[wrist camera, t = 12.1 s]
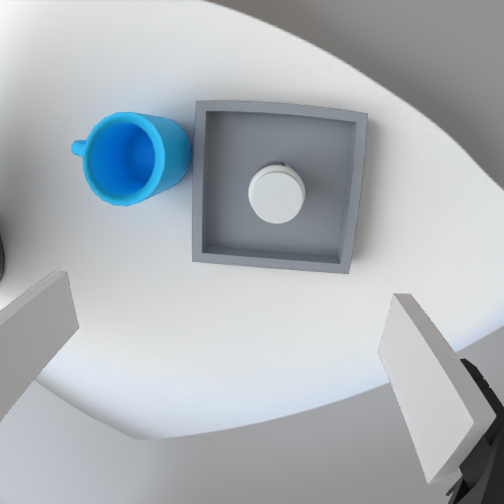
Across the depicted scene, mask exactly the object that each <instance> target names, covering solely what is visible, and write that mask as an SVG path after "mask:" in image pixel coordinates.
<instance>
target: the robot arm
mask: <svg viewBox="0 0 504 504" xmlns="http://www.w3.org/2000/svg"><path fill="white" fill-rule="evenodd" d="M3 268H4V256H3V248H2V243H1V239H0V279H1V277H2V274H3ZM78 329H79V325H78V321H77V316H76V312H75V308H74V303H73V299H72V294H71V289H70V284H69V279H68V274H67V272H60V271H53V272H52V273H50V274H49V275H48V276H46V277H45V278H43V279H42V280H41V281H39V282H38V283H37V284H35V285H34V286H32V287H31V288H30V289H28V290H27V291H26V292H24V293H23V294H22V295H20V296H19V297H18V298H16V299H15V300H14V301H12V302H11V303H10V304H9V305H7V306H6V307H5V308H3V309H2V310H1V311H0V422H1V420H2V419H3V418H4V416H5V415H6V414H7V413H8V411H9V410H10V409H11V407H12V406H13V405H14V404H15V402H16V401H17V400H18V399H19V397H20V396H21V395H22V394H23V393H24V391H25V390H26V389H27V388H28V386H29V385H30V384H31V383H32V381H33V380H34V379H35V378H36V377H37V376H38V374H39V373H40V372H41V371H42V370H43V368H44V367H45V366H46V365H47V364H48V363H49V361H50V360H51V359H52V358H53V357H54V356H55V355H56V353H57V352H58V351H59V350H60V349H61V348H62V347H63V345H64V344H65V343H66V342H67V341H68V340H69V339H70V338H71V336H72V335H73V334H74V333H75V332H76V331H77V330H78ZM378 354H379V356H380V359H381V361H382V363H383V366H384V368H385V370H386V373H387V375H388V378H389V380H390V383H391V385H392V387H393V390H394V392H395V395H396V397H397V400H398V403H399V405H400V408H401V410H402V413H403V415H404V418H405V421H406V423H407V426H408V429H409V431H410V434H411V437H412V440H413V442H414V445H415V448H416V451H417V454H418V456H419V459H420V462H421V465H422V468H423V471H424V474H425V477H426V480H427V484H431V483H435V482H439V481H443V480H446V479H449V478H450V477H451V476H452V475H453V474H454V473H455V472H456V470H457V469H458V468H460V470H461V472H462V476H461V478H460V479H459V480H458V481H457V482H456V483H455V484H454V485H453V486H452V487H451V488H450V489H449V491H448V492H447V494H446V495H447V496H449V494H451V493H452V492H453V494H452V496H451V498H450V501H449V503H448V504H504V407H503V405H502V404H501V402H500V401H499V399H498V398H497V396H496V395H495V393H494V392H493V390H492V389H491V388H489V384H488V383H487V382H486V380H484V379H483V376H482V374H481V373H480V372H479V370H478V369H477V367H476V366H474V365H473V364H472V363H470V362H469V361H467V360H466V359H459V358H458V357H457V355H456V354H455V352H454V351H453V349H452V348H451V347H450V345H449V344H448V342H447V341H446V340H445V338H444V337H443V336H442V334H441V333H440V332H439V330H438V329H437V327H436V326H435V325H434V324H433V322H432V321H431V320H430V318H429V317H428V316H427V314H426V313H425V312H424V310H423V309H422V308H421V307H420V305H419V304H418V303H417V301H416V300H415V299H414V298H413V296H412V295H411V294H393V296H392V301H391V305H390V309H389V313H388V317H387V321H386V325H385V328H384V332H383V336H382V339H381V343H380V346H379V350H378Z"/></svg>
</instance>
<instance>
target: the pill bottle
mask: <svg viewBox="0 0 504 504" xmlns="http://www.w3.org/2000/svg"><path fill="white" fill-rule="evenodd" d="M248 197H249V201H250V203H251V206H252V207H253V209H254V211H255V213H256V214H257V215H258V216H259V217H260V218H261V219H263V220H264V221H266V222H269V223H274V224H281V223H285V222H288V221H290V220H292V219H293V218H294V217H295V216H296V215H297V214H298V213H299V211H300V210H301V207H302V205H303V203H304V200H305V186H304V183H303V181H302V179H301V178H300V176H299V175H298V174H297V172H296V171H295V170H294V169H293V168H292V167H291V166H290V165H288V164H286V163H283V162H278V161H274V162H269V163H267V164H265V165H263V166H262V167H260V168H259V169H258V171H257V172H256V174H255V175H254V177H253V178H252V180H251V182H250V185H249V189H248Z"/></svg>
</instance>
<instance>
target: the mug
mask: <svg viewBox="0 0 504 504" xmlns="http://www.w3.org/2000/svg"><path fill="white" fill-rule="evenodd" d="M71 150H72V152H73V153H74V154H75V155H78V156H81V157H83V169H84V173H85V177H86V180H87V182H88V184H89V185H90V187H91V189H92V191H93V192H94V193H95V194H96V195H97V196H99V197H100V198H101V199H102V200H103V201H106V202H108V203H110V204H112V205H118V206H129V205H132V204H136V203H139V202H141V201H143V200H145V199H148V198H150V197H152V196H154V195H156V194H158V193H160V192H163V191H165V190H167V189H169V188H171V187H172V186H174V185H175V184H177V183H178V182H179V181H180V180H181V179H182V178H183V176H184V175H185V174H186V172H187V170H188V167H189V164H190V162H191V146H190V142H189V138H188V137H187V135H186V133H185V132H184V130H183V129H182V128H181V127H180V126H179V125H178V124H176V123H175V122H174V121H171V120H169V119H166V118H163V117H157V116H151V115H146V114H140V113H133V112H120V113H115V114H113V115H110V116H108V117H106V118H104V119H103V120H102V121H101V122H99V123H98V124H97V125H96V126H95V127H94V128H93V130H92V132H91V133H90V135H89V136H88V138H87V140H77V141H74V143H73V144H72V147H71Z"/></svg>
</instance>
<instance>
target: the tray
mask: <svg viewBox="0 0 504 504" xmlns="http://www.w3.org/2000/svg"><path fill="white" fill-rule="evenodd" d="M367 118H368V114H367V113H360V112H354V111H347V110H340V109H333V108H325V107H316V106H307V105H296V104H284V103H270V102H251V101H196V113H195V133H194V158H193V196H192V262H203V263H215V264H226V265H238V266H251V267H263V268H276V269H288V270H302V271H315V272H328V273H342V274H349V270H350V264H351V258H352V252H353V246H354V239H355V232H356V225H357V218H358V211H359V203H360V195H361V186H362V177H363V168H364V157H365V146H366V133H367ZM274 161H278V162H283V163H286V164H288V165H290V166H291V167H292V168H293V169H294V170H295V171H296V172H297V174H298V175H299V176H300V178H301V179H302V181H303V183H304V186H305V200H304V203H303V205H302V207H301V210H300V211H299V213H298V214H297V215H296V216H295V217H294V218H293V219H292V220H290V221H288V222H285V223H281V224H274V223H269V222H266V221H264V220H263V219H261V218H260V217H259V216H258V215H257V214H256V213H255V211H254V209H253V207H252V206H251V203H250V201H249V197H248V189H249V185H250V182H251V180H252V178H253V177H254V175H255V174H256V172H257V171H258V169H259V168H260V167H262V166H263V165H265V164H267V163H269V162H274Z"/></svg>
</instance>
